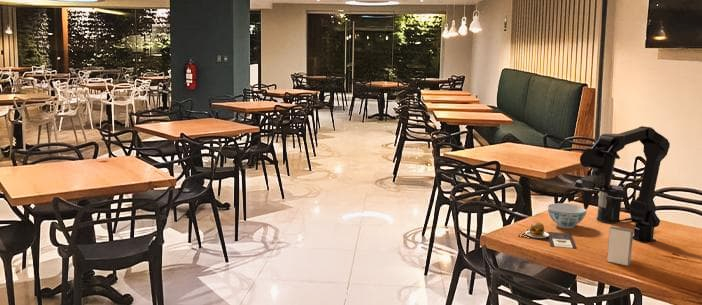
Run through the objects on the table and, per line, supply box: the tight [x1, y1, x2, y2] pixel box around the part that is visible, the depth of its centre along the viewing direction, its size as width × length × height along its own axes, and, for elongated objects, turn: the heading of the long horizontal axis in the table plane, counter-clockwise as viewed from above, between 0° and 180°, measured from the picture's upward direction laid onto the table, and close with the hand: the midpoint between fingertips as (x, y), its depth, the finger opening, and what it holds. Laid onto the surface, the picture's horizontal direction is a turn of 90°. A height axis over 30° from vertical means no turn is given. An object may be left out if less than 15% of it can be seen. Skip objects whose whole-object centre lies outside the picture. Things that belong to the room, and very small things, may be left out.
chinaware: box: [547, 202, 588, 230], centre depth 259 cm, size 15×15×8 cm
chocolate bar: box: [546, 231, 578, 250], centre depth 241 cm, size 9×1×18 cm
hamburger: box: [517, 221, 550, 243], centre depth 247 cm, size 12×12×6 cm
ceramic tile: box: [606, 225, 634, 267], centre depth 216 cm, size 3×7×12 cm, turn 52°
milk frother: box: [596, 184, 636, 224], centre depth 267 cm, size 14×16×15 cm
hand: (595, 212), depth 229 cm, fingers open, 9 cm apart
